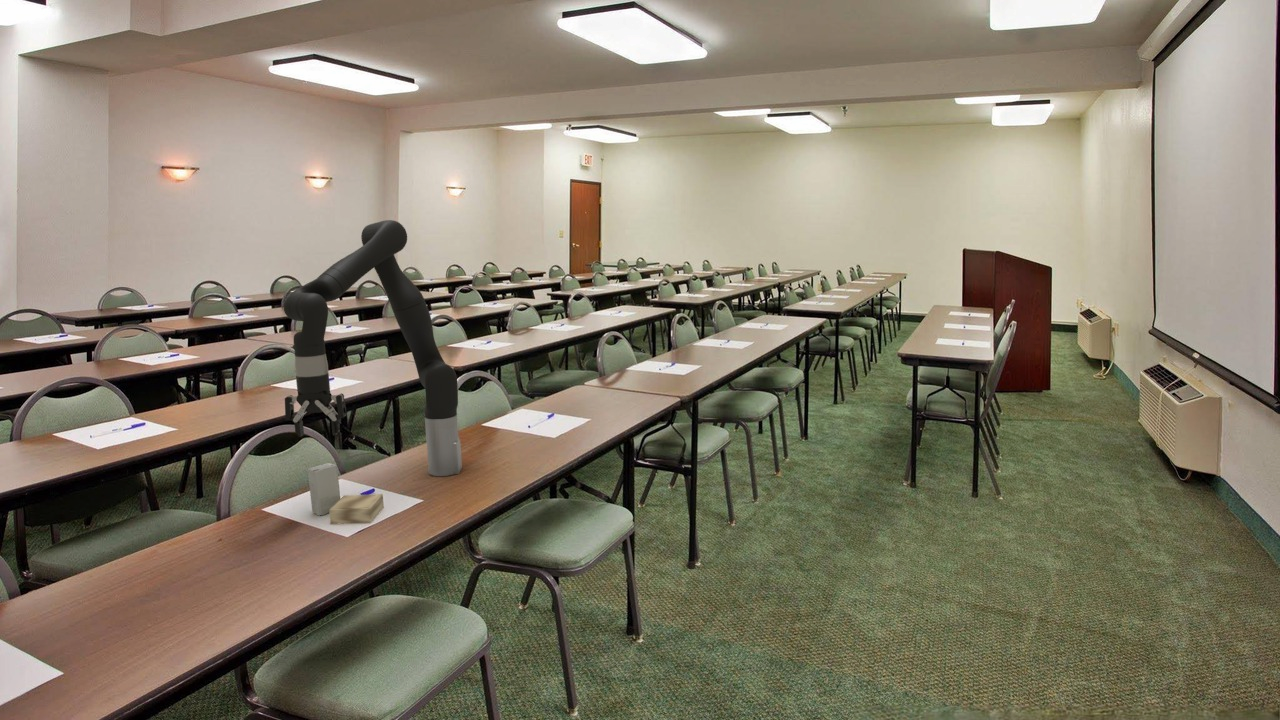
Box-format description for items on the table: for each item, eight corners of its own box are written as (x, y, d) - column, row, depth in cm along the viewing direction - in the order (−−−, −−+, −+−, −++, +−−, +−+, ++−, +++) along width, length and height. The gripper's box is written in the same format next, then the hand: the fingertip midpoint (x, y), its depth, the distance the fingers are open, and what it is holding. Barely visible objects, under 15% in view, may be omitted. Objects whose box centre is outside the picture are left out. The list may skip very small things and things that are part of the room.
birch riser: (383, 508, 191) (382, 493, 190) (371, 523, 181) (370, 508, 180) (345, 510, 191) (343, 494, 190) (330, 525, 181) (329, 509, 180)
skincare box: (333, 505, 193) (329, 461, 191) (342, 509, 190) (338, 465, 188) (311, 512, 188) (306, 467, 186) (319, 517, 185) (314, 471, 183)
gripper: (346, 369, 187) (351, 430, 190) (288, 370, 186) (295, 432, 189) (336, 374, 180) (342, 438, 183) (276, 376, 179) (283, 440, 182)
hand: (318, 435), depth 186 cm, fingers open, 8 cm apart
